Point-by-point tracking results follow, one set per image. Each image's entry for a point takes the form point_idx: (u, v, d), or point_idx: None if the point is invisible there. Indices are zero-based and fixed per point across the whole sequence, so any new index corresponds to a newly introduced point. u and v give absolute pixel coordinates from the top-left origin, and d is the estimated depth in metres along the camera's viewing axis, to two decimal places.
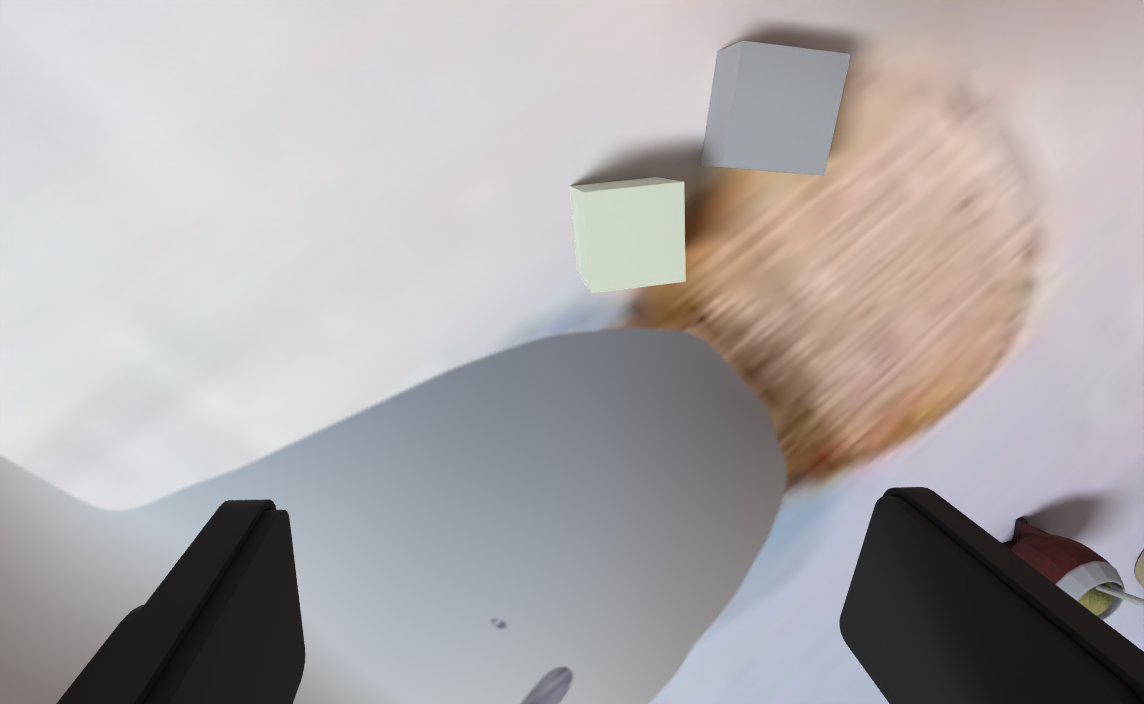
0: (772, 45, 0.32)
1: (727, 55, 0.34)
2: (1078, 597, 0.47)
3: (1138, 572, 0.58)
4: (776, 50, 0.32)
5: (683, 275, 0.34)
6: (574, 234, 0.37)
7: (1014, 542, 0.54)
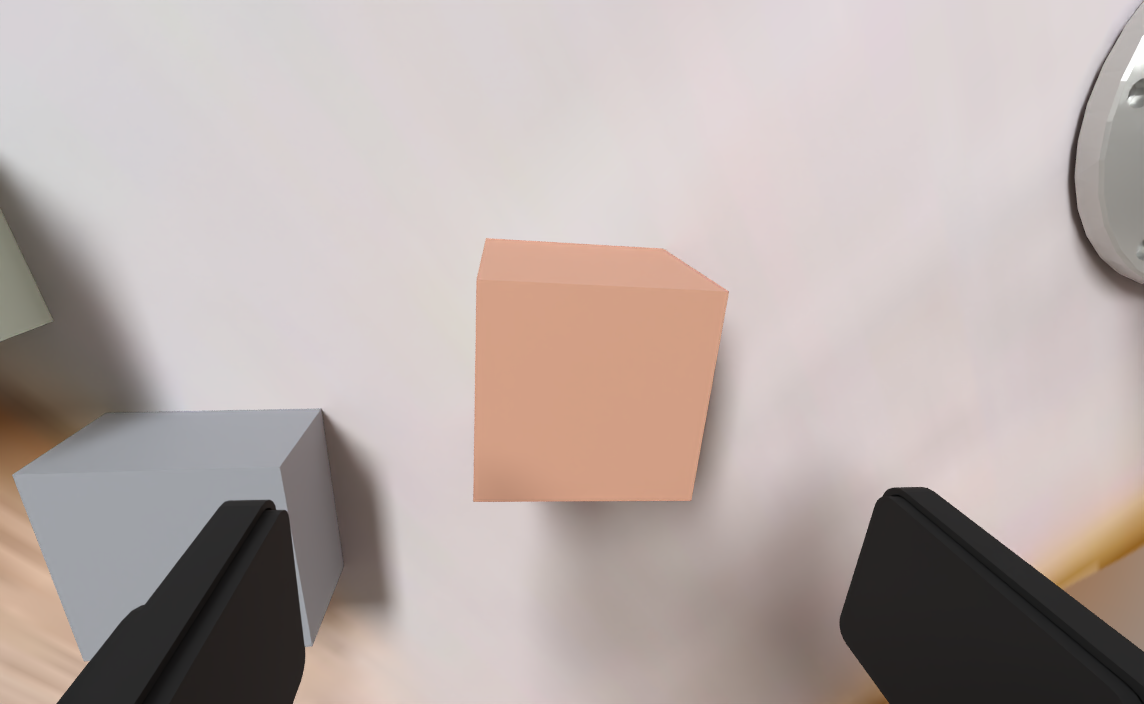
0: None
1: (287, 433, 0.18)
2: None
3: None
4: None
5: None
6: None
7: None
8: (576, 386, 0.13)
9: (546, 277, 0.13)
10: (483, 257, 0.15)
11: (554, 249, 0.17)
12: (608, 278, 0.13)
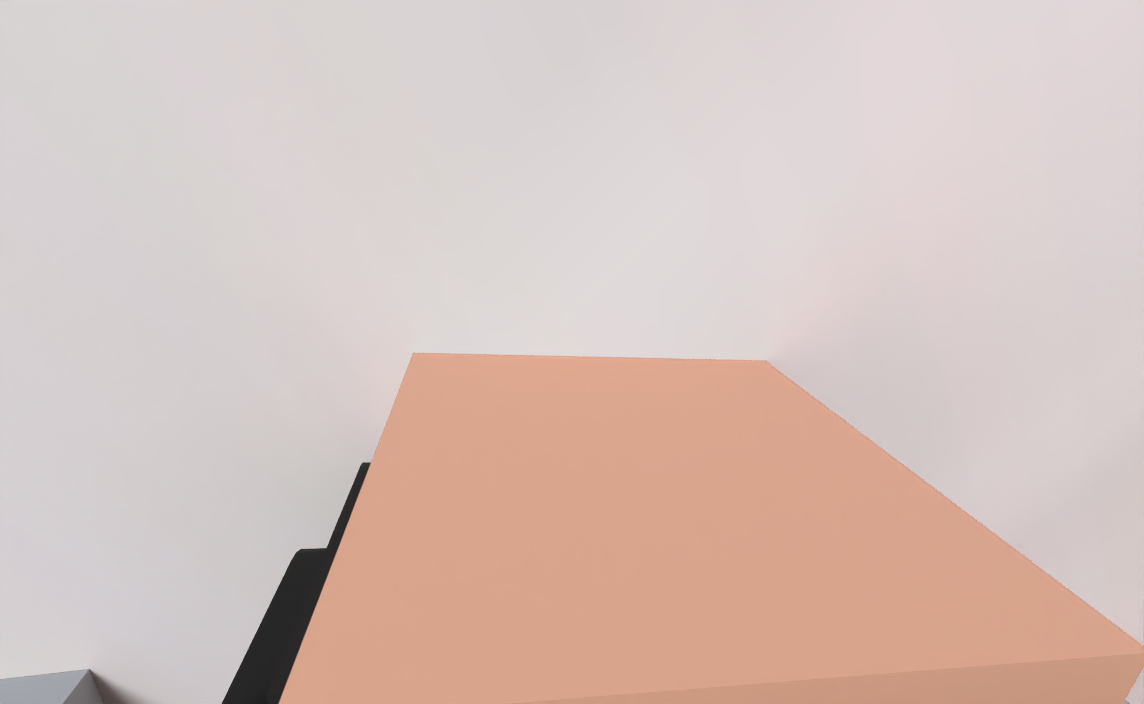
0: None
1: None
2: None
3: None
4: None
5: None
6: None
7: None
8: None
9: (550, 624, 0.04)
10: (373, 467, 0.05)
11: (557, 391, 0.08)
12: (745, 590, 0.04)
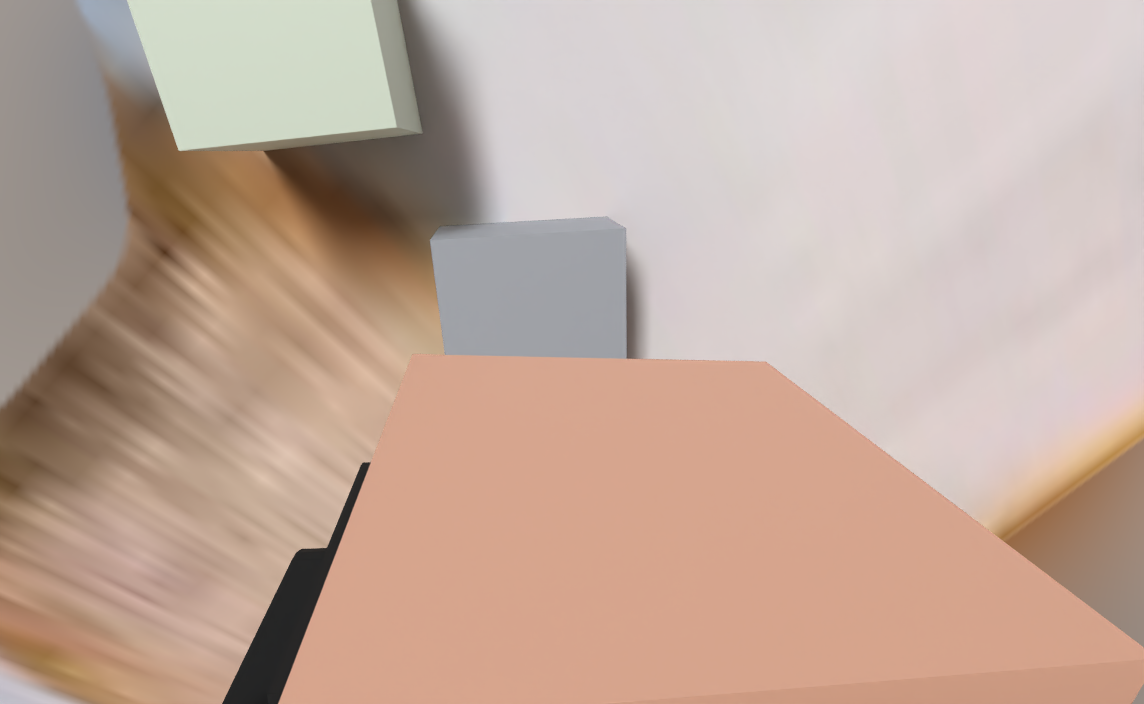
0: (624, 279, 0.20)
1: (601, 222, 0.22)
2: None
3: None
4: (618, 287, 0.20)
5: (192, 144, 0.15)
6: None
7: None
8: None
9: (550, 630, 0.04)
10: (372, 470, 0.05)
11: (557, 393, 0.08)
12: (746, 595, 0.04)
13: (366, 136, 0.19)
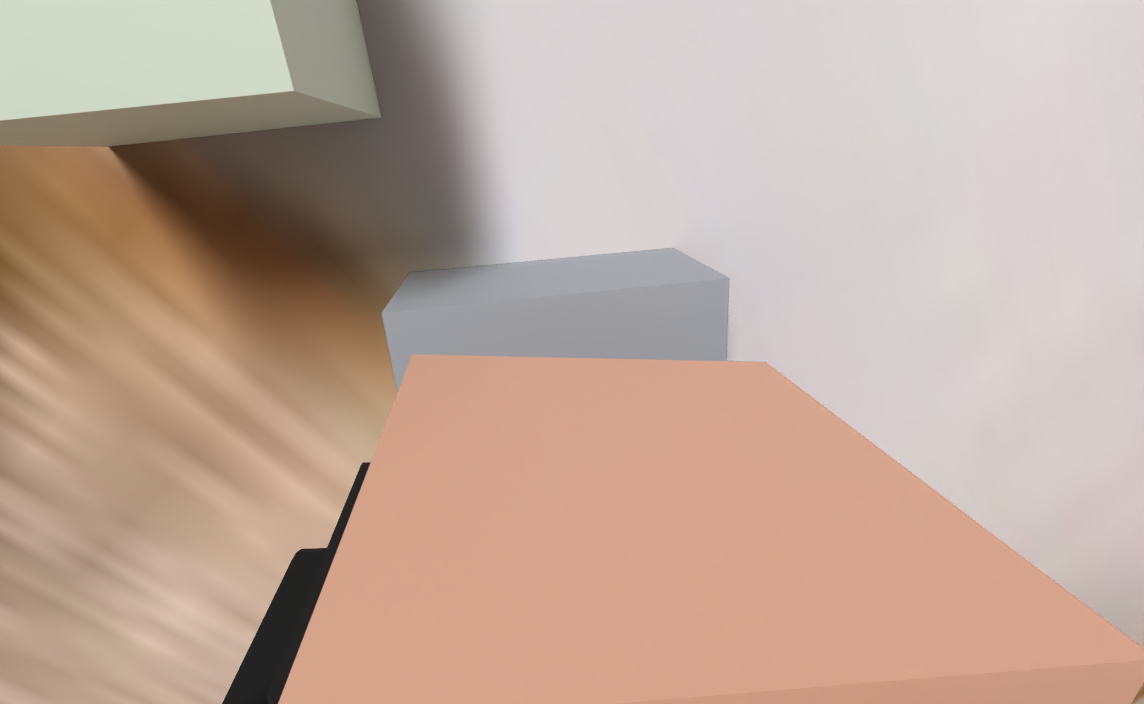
0: None
1: (674, 261, 0.13)
2: None
3: None
4: None
5: None
6: None
7: None
8: None
9: (550, 631, 0.04)
10: (372, 471, 0.05)
11: (557, 393, 0.08)
12: (746, 596, 0.04)
13: (267, 118, 0.10)
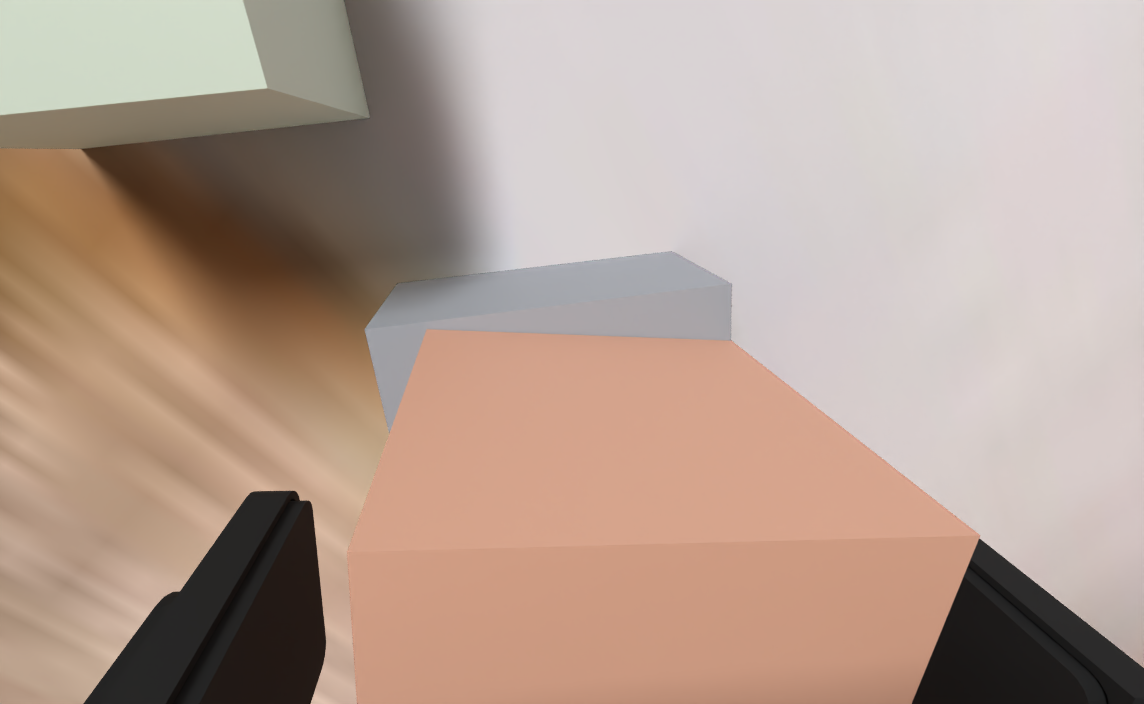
0: None
1: (674, 266, 0.12)
2: None
3: None
4: None
5: None
6: None
7: None
8: None
9: (539, 507, 0.05)
10: (401, 410, 0.07)
11: (549, 360, 0.09)
12: (685, 492, 0.06)
13: (246, 119, 0.09)
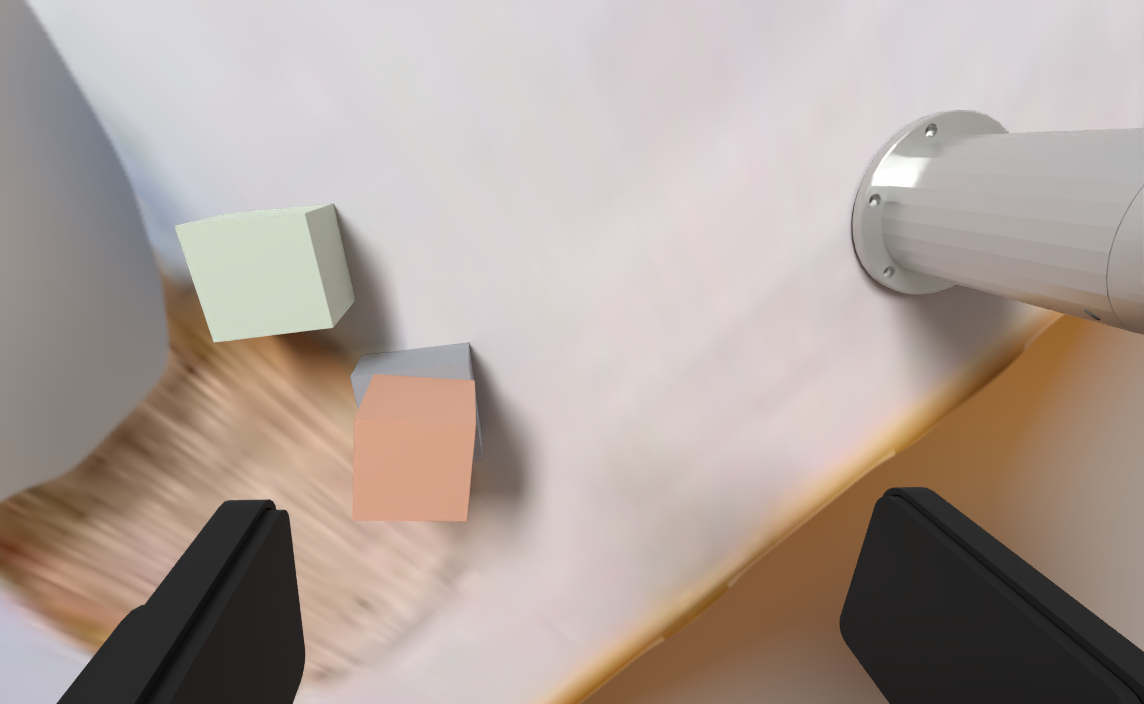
0: None
1: (460, 351, 0.35)
2: None
3: None
4: None
5: (221, 339, 0.28)
6: (274, 209, 0.32)
7: None
8: (403, 466, 0.28)
9: (389, 415, 0.28)
10: (364, 397, 0.29)
11: (408, 385, 0.32)
12: (421, 415, 0.28)
13: None
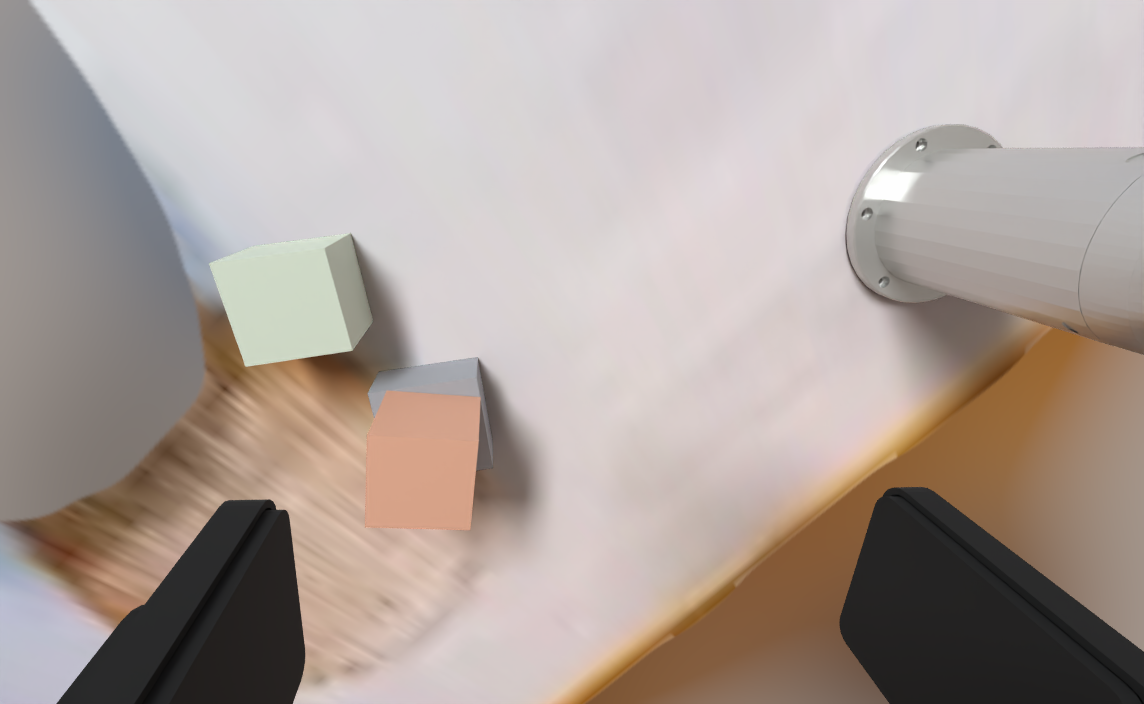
0: (480, 403, 0.36)
1: (469, 367, 0.37)
2: None
3: None
4: None
5: (252, 363, 0.31)
6: (297, 240, 0.34)
7: None
8: (412, 478, 0.31)
9: (399, 432, 0.30)
10: (377, 413, 0.32)
11: (418, 402, 0.34)
12: (428, 431, 0.31)
13: None
